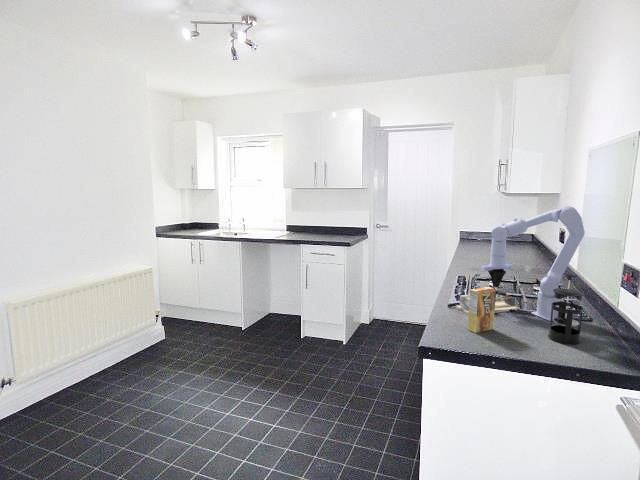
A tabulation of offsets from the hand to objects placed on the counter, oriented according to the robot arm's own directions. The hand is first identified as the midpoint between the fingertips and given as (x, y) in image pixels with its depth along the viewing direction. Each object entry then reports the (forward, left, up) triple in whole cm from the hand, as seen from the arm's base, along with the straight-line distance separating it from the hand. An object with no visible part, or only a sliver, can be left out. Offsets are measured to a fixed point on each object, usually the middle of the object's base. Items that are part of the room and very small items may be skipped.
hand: (495, 286), depth 169 cm
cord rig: (0, +4, -9) cm, 10 cm away
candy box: (-19, +22, -10) cm, 30 cm away
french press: (-34, 0, -10) cm, 35 cm away
